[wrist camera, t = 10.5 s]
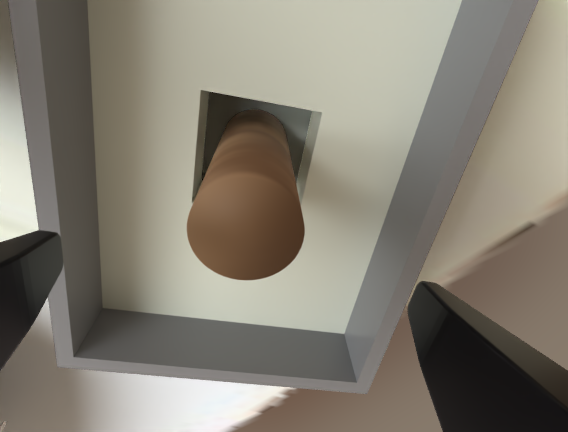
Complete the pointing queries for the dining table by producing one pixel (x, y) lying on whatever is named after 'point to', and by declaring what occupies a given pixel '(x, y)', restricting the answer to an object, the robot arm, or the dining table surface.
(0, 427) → the bowl
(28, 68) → the box
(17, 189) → the dining table surface
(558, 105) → the dining table surface
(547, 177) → the dining table surface
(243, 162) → the peg
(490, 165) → the dining table surface
